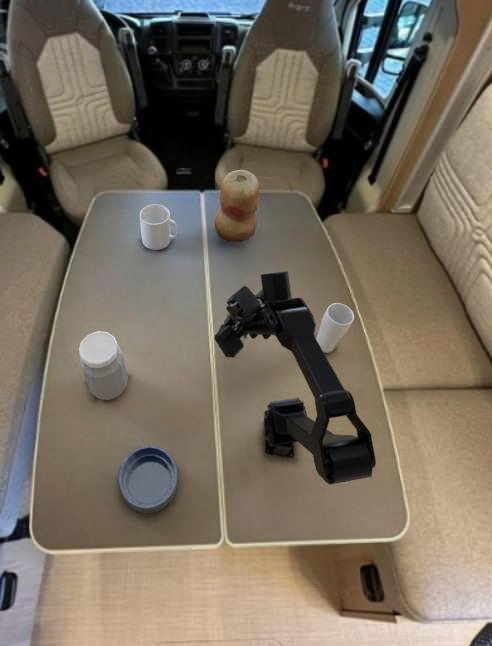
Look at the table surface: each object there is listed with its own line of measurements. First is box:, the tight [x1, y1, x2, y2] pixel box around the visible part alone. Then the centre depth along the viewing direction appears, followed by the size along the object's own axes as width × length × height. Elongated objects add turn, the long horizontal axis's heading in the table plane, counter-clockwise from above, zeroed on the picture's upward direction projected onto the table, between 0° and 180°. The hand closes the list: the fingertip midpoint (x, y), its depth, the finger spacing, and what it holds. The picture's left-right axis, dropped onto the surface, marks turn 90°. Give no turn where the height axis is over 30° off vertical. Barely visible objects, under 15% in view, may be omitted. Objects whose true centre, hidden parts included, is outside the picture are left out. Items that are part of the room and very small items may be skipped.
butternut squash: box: [213, 169, 260, 243], centre depth 130 cm, size 14×13×25 cm
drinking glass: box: [315, 302, 355, 354], centre depth 108 cm, size 7×7×15 cm
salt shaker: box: [217, 312, 239, 333], centre depth 101 cm, size 6×6×12 cm
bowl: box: [118, 445, 178, 514], centre depth 88 cm, size 12×12×6 cm
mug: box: [139, 203, 180, 251], centre depth 133 cm, size 10×12×12 cm
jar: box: [78, 331, 129, 401], centre depth 97 cm, size 10×10×18 cm
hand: (226, 322), depth 101 cm, fingers closed on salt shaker, 3 cm apart
